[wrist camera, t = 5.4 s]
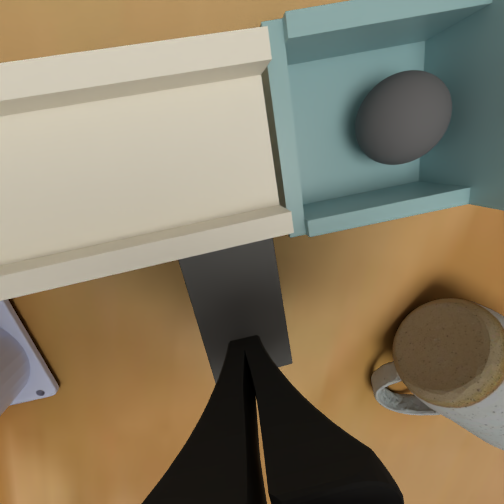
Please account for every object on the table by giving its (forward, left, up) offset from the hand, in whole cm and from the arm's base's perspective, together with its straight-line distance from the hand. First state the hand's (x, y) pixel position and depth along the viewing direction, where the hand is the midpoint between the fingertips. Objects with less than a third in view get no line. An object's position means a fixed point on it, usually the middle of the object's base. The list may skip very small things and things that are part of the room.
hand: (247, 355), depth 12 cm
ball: (+9, +9, -4) cm, 13 cm away
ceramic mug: (+14, -9, -6) cm, 17 cm away
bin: (+8, +9, -6) cm, 13 cm away
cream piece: (-4, +5, -1) cm, 7 cm away
